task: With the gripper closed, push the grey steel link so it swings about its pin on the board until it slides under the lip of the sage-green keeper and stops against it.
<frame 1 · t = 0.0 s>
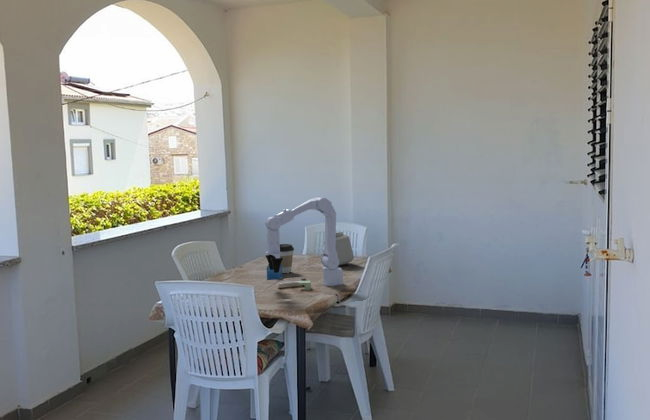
hand: (274, 271, 286), 10 cm above the table, tool pointing down, fingers open, 7 cm apart
perfume bottle: (274, 278, 317), on the table
board: (296, 291, 286), on the table
link: (292, 284, 291), point 3 cm above the table, hinge at 0.0°
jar: (337, 265, 351), on the table
coffee cup: (284, 272, 333), on the table
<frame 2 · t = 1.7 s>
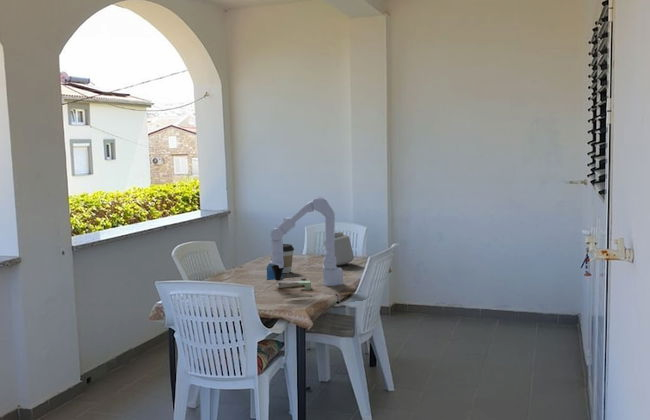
hand: (277, 280, 296), 4 cm above the table, tool pointing down, fingers closed
nothing on the table moved.
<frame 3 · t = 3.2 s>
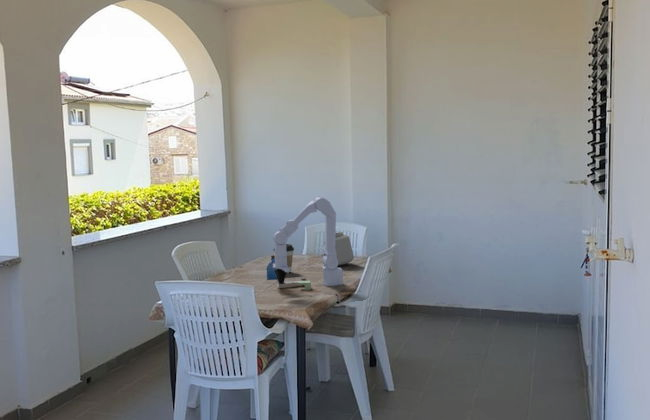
hand: (281, 284, 291), 3 cm above the table, tool pointing down, fingers closed
link: (292, 284, 291), point 3 cm above the table, hinge at 2.4°, touching gripper
everything else where it was.
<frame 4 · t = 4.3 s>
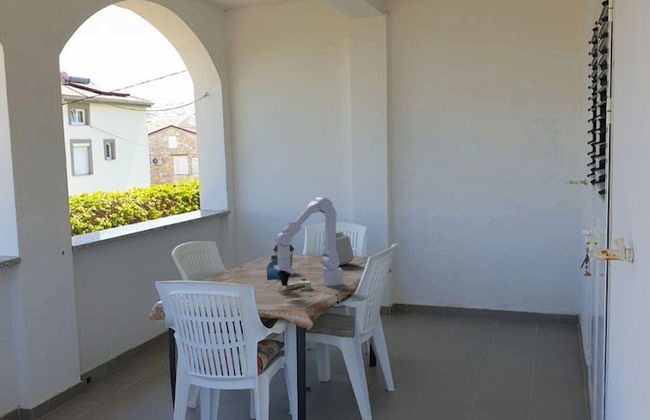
hand: (284, 286, 286), 2 cm above the table, tool pointing down, fingers closed
link: (295, 285, 289), point 3 cm above the table, hinge at 27.8°, touching gripper
everything else where it was.
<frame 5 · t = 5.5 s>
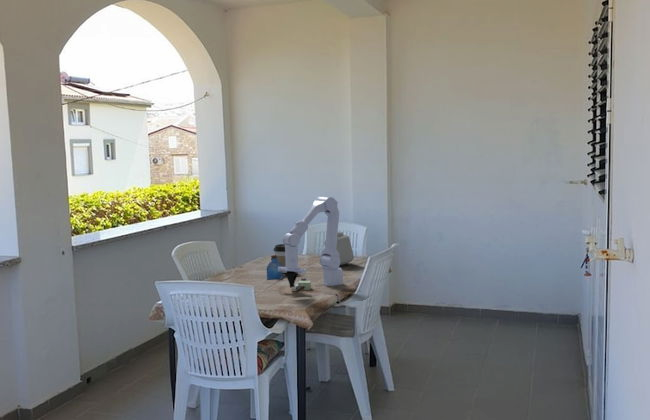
hand: (292, 287, 284), 3 cm above the table, tool pointing down, fingers closed, pressing on link
link: (299, 285, 288), point 3 cm above the table, hinge at 51.1°, touching gripper
everything else where it was.
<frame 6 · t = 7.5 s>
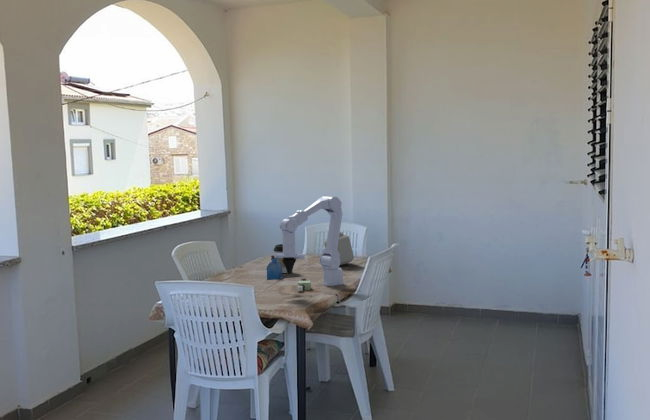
hand: (289, 273, 282), 9 cm above the table, tool pointing down, fingers closed
link: (302, 285, 288), point 3 cm above the table, hinge at 64.6°
everything else where it was.
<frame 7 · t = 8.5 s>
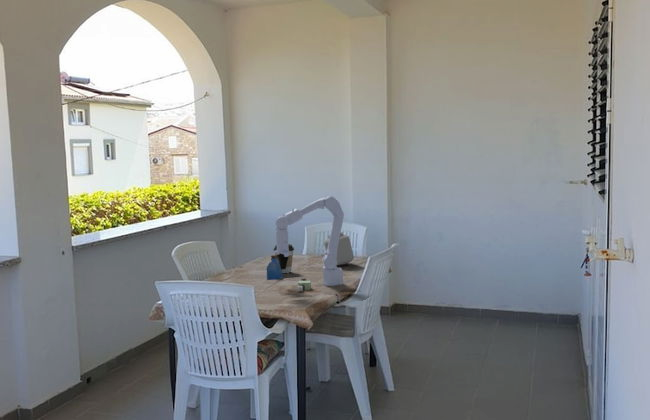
hand: (283, 269, 293), 9 cm above the table, tool pointing down, fingers closed
nothing on the table moved.
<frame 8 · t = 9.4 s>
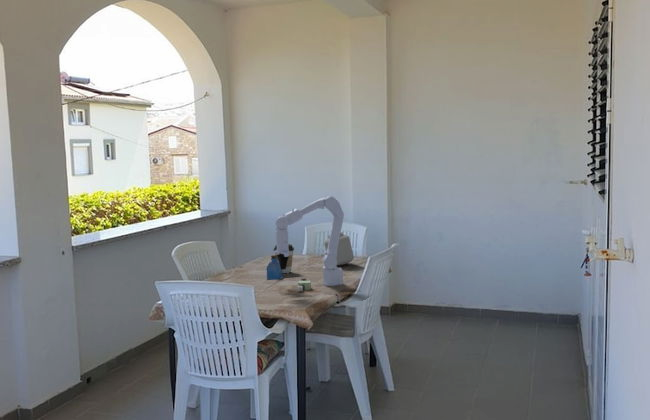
hand: (283, 269, 293), 9 cm above the table, tool pointing down, fingers closed
nothing on the table moved.
at the end: link at +65° (first picture: +0°) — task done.
